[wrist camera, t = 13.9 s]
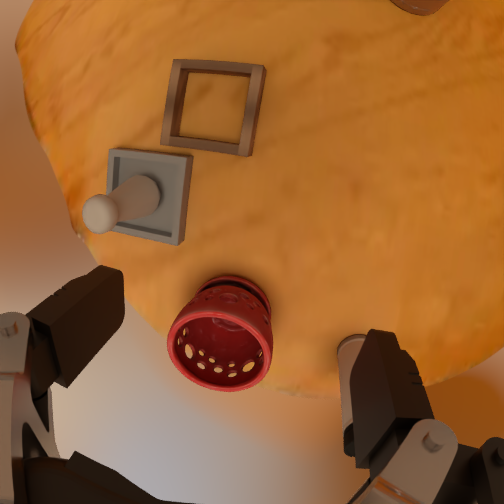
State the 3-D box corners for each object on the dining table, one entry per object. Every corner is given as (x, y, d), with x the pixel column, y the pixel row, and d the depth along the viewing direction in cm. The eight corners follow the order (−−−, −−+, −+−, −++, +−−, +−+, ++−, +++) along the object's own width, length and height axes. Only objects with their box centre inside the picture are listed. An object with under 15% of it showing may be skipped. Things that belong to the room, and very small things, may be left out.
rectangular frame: (182, 63, 35) (173, 59, 33) (266, 70, 34) (263, 65, 32) (169, 143, 40) (160, 144, 37) (251, 155, 39) (247, 156, 36)
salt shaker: (135, 167, 41) (77, 183, 29) (170, 179, 41) (119, 199, 29) (127, 205, 43) (71, 232, 31) (160, 218, 43) (110, 250, 31)
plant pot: (207, 344, 50) (184, 393, 39) (185, 273, 46) (150, 314, 35) (285, 339, 48) (278, 393, 37) (271, 262, 43) (258, 306, 32)
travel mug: (382, 337, 45) (409, 438, 26) (364, 367, 47) (378, 467, 29) (348, 327, 45) (362, 432, 27) (330, 358, 48) (334, 462, 29)
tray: (118, 147, 41) (109, 148, 39) (193, 156, 40) (186, 157, 38) (114, 224, 45) (105, 229, 43) (184, 240, 44) (177, 245, 42)
